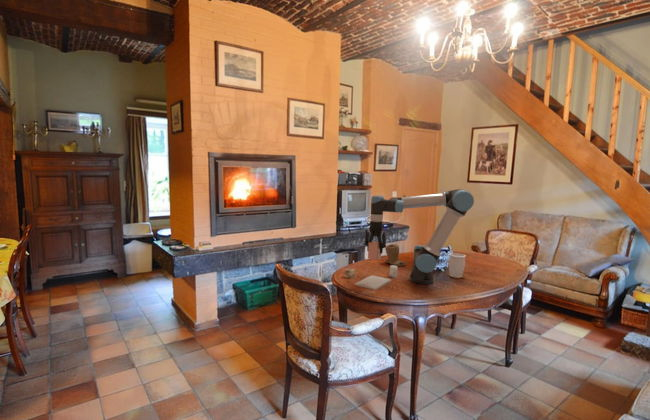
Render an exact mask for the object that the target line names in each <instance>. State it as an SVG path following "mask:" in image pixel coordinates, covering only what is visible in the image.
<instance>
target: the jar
mask: <svg viewBox="0 0 650 420" xmlns="http://www.w3.org/2000/svg"><path fill="white" fill-rule="evenodd" d="M466 256H467V255H466V254H463V253H458V252H457V253H456V252H452V253H451V252H450V253H449V258H448V271H449V275H448V276H450V277H452V278H456V279H457V278H458V279H460V278H463V277H464V276H463V274H464V271H465V267H466Z"/></svg>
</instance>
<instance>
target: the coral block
mask: <svg viewBox="0 0 650 420" xmlns="http://www.w3.org/2000/svg"><path fill="white" fill-rule="evenodd" d="M368 242H369V241H368ZM378 248H380V247H379V243H378V241H376V240H375V241H374V240H372V242H369V246H368V251H367V259H370V260H374V261H377V260H379V259H378Z"/></svg>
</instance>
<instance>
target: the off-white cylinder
mask: <svg viewBox="0 0 650 420" xmlns="http://www.w3.org/2000/svg"><path fill="white" fill-rule="evenodd" d="M398 267H399V266H397V265H393V264H390V265H389V278H393V279H394V278H395V279H396V278H398Z"/></svg>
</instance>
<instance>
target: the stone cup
mask: <svg viewBox="0 0 650 420" xmlns="http://www.w3.org/2000/svg"><path fill="white" fill-rule="evenodd" d="M384 249H385V254H386V256H387V259H386V260H385V262H386V263H387V264H390V265H395V266H398V267H403V266H405V265H408V264H407V262H406V261H403V260H400V259H399V256H400V246H399V245H398V244H386V247H385V248H384Z"/></svg>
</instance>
